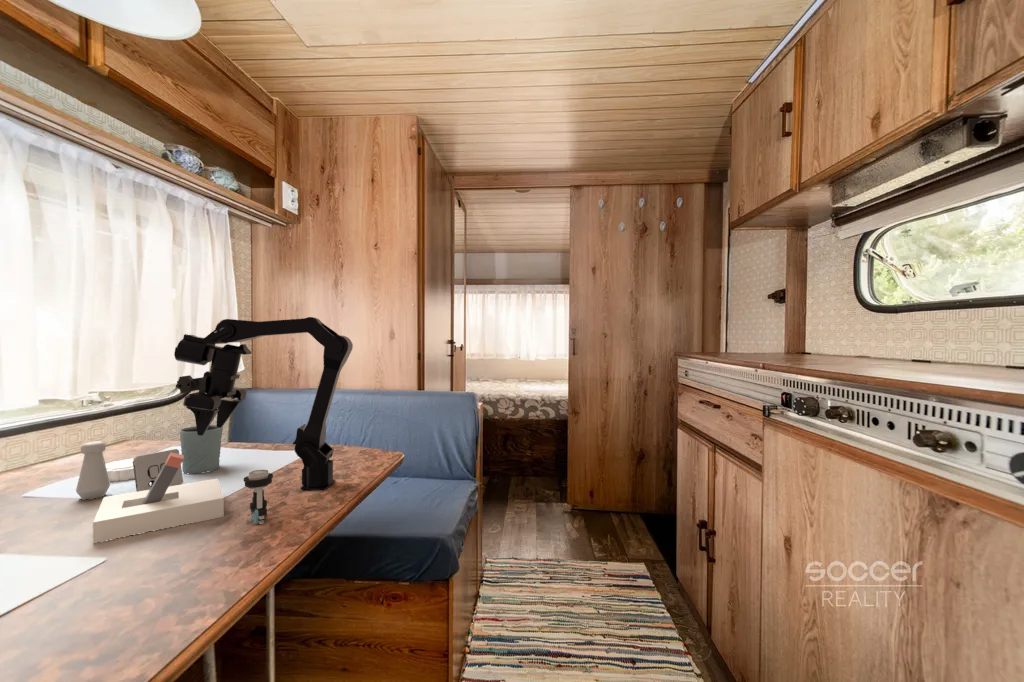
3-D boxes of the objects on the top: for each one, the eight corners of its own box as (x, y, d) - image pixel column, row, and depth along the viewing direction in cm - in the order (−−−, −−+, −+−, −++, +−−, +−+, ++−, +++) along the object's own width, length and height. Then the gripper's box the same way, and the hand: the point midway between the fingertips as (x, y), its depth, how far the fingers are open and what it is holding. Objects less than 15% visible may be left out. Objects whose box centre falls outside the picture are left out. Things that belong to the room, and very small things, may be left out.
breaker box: (217, 495, 104) (217, 478, 104) (223, 516, 91) (223, 497, 91) (103, 515, 92) (103, 497, 91) (93, 544, 79) (93, 522, 79)
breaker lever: (155, 505, 92) (183, 455, 95) (155, 510, 89) (183, 459, 92) (142, 502, 91) (170, 452, 94) (141, 508, 88) (170, 455, 91)
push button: (276, 522, 88) (276, 474, 88) (246, 529, 85) (246, 479, 85) (270, 512, 94) (270, 466, 94) (241, 518, 90) (241, 471, 90)
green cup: (175, 476, 118) (175, 433, 118) (183, 467, 127) (183, 426, 127) (220, 471, 122) (220, 429, 122) (224, 462, 131) (224, 423, 131)
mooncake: (86, 480, 115) (86, 466, 115) (136, 467, 127) (136, 455, 127) (116, 484, 112) (116, 470, 112) (165, 471, 123) (165, 458, 123)
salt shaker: (114, 494, 104) (115, 441, 104) (83, 503, 99) (83, 446, 98) (102, 491, 106) (102, 438, 106) (71, 498, 101) (71, 443, 101)
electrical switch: (139, 496, 103) (137, 457, 104) (129, 494, 106) (128, 456, 106) (184, 484, 111) (182, 448, 112) (174, 483, 114) (172, 448, 114)
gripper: (207, 360, 114) (194, 418, 114) (165, 365, 96) (149, 434, 95) (252, 368, 116) (239, 425, 116) (219, 374, 98) (204, 442, 97)
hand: (210, 431), depth 106 cm, fingers open, 9 cm apart
